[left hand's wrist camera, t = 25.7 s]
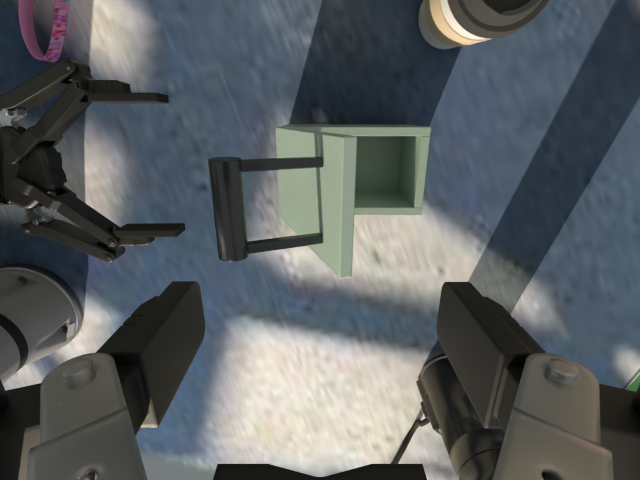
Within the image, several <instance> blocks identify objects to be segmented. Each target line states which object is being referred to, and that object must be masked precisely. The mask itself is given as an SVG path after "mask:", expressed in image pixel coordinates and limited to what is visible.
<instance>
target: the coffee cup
mask: <svg viewBox="0 0 640 480" xmlns="http://www.w3.org/2000/svg"><path fill="white" fill-rule="evenodd" d="M548 1H549V0H423V2H422V4H421V7H420V10H419V16H418V22H419V28H420V32H421V34H422V36H423V38H424V39H425V40H426V41H427V42H428V43H429V44H430V45H431V46H433V47H435V48H438V49H451V48H454V47H461V46H466V45H470V44H474V43H478V42H482V41H486V40H490V39H493V38H500V37H504V36H507V35H510V34H512V33H514V32H516V31H518V30H519V29H521V28H522V27H524V26H525V25H527V24H528V23H530V22H531V21H532V20H533V19H534V18H536V17H537V16H538V15H539V13H540V12H541V11H542V10H543V9H544V7H545V6H546V4H547V3H548Z"/></svg>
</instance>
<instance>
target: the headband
mask: <svg viewBox="0 0 640 480" xmlns="http://www.w3.org/2000/svg"><path fill="white" fill-rule="evenodd" d="M34 2H35V0H19V1H18V11H19V23H20V29H21V33H22V37H23V40H24V42H25V45H26V47H27V49H28V50H29V52H30V53H31V55H32V56H33V57H34V58H36V59H38V60H42V61H47V62H56V61H57V60H58V58H59V57H60V54H61V52H62V48H63V44H64V38H65V32H66V25H67V16H68V6H69V0H55V10H54V19H53V27H52V34H51V40H50V44H49V48H48V51H47V53H46V55H45V56H44V55H43V53H42V51H41V49H40V47H39V45H38V42H37V39H36V35H35V29H34V20H33V11H34Z"/></svg>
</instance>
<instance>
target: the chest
mask: <svg viewBox="0 0 640 480" xmlns="http://www.w3.org/2000/svg"><path fill="white" fill-rule="evenodd" d="M282 127H289V128H296V129H304V130H312V131H320V132H328V133H335V134H343V135H351V136H357V152H356V178H355V204H354V215H421V213H422V204H423V195H424V186H425V177H426V168H427V159H428V150H429V141H430V133H431V127H426V126H418V125H409V124H288V125H285V126H282Z"/></svg>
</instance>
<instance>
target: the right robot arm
mask: <svg viewBox="0 0 640 480" xmlns="http://www.w3.org/2000/svg"><path fill="white" fill-rule="evenodd" d="M90 72H91V70H90V67H89V66H88V65H87V64H86V63H83V62H79V61H76V60H72V59H69V58H65V59H62V60H61V61H59V62H58V63H56V64H54V65H53V66H51V67H49V68H48V69H46V70H45V71H43V72H41V73H40V74H38V75H37V76H35V77H33V78H32V79H30V80H28V81H27V82H25V83H24V84H22V85H20V86H19V87H17V88H15V89H14V90H12V91H11V92H9V93H7V94H6V95H0V123H1V126H2V127H0V205H17V206H20V207H22V208H24V209H25V214H26V220H27V223H24V224H22V225H21V231H22V232H23V233H25V234H30V235H40V236H45V237H48V238H50V239H52V240H55V241H57V242H60V243H62V244H65V245H67V246H70V247H72V248H74V249H77V250H79V251H82V252H84V253H87V254H89V255H92V256H94V257H97V258H99V259H101V260H104V261H106V262H112V261H113V260H115V259H117V258H118V257H119V256H121V255H122V254H124V253H125V248H124V245H147V244H149V243H151V242H152V241H153V240H155V238H154V237H177V236H178V235H179V234H181V233H182V232H183V231H184V230H185V223H167V224H126V225H124V226H122V227H119V226H117V225H116V224H114V223H113V222H111V221H110V220H109V219H107V218H106V217H104V216H103V215H101V214H100V213H98V212H97V211H95V210H94V209H93V208H91V207H90V206H88V205H87V204H85V203H84V202H82V201H81V200H80V199H78V198H77V197H76V196H77V195H76V194H75V193H74V192H72V191H71V190H69V189H68V188H66V187H65V186H64V184H65V182H67V179H66V175H65V173H64V171H63V169H62V158H61V154H60V152H57V151H56V149H55V148H54V147H55V146H56V145H57V144H58V142H59V141H60V140H61V139H62V138H63V136H62V135H63V134H64V132H65V131H66V130H67V129H68V128H69V127H70V126H71V125H72V124H73V123H74V122H75V120H76V119H77V118H78V117H79V116H80V115H81V114H82V113H83V112H84V111H85V109H86V108H87V107H88V106H89V105H90V104H91V103H92V102H99V103H169V101H168V95H164V94H159V93H131V90H130V84H128V83H125V82H122V81H117V80H94V79H93V77H92V76H91V74H90ZM65 89H66V91H65V92H64V93H63V94H62V95H61V96H60V97H59V99H58V100H57V101H56V102H55V103H54V104H53V105H52V106H51V108H50V109H49V110H48V111H47V112H46V113H45V114H44V115H43V117H42V118H41V119H40V120H39V121H38V122H37V123H36V124H35V125H34V126H32V127H30V128H28V129H27V130H26V129H25V128H23V127H21V126H19V124H18V122H19V120H20V119H21V118H23V117H24V116H25V115H27V111H26V110H29V109H32V108H35V107H37V106H39V105H40V104H42V103H44V102H45V101H47V100H49V99H50V98H52V97H54V96H55V95H57V94H58V93H60V92H62V91H63V90H65ZM55 195H57V196H55ZM41 206H45V207H46V208H48V209H50V210H55V211H57V212H59V213H60V214H62V215H63V216H65V217H66V218H68V219H69V220H71V221H72V222H74V223H75V224H77V225H78V226H80V227H81V228H83V229H81V228H79V227H76V226H74V225H72V224H69V223H67V222H64V221H61V220H57V219H54V216H53V215H49V214H46V213H44V212H43V211H42V210H41ZM82 319H83V317H82V310H81V306H80V303H79V301H78V299H77V297H76V296H75V294H74V293H73V292H72V290H71V289H70V288H69V287H68V286H67V285H66V284H65V283H64V282H63V281H62V280H60V279H59V278H58V277H56V276H55V275H53V274H51V273H49V272H47V271H45V270H43V269H40V268H37V267H34V266H29V265H8V266H4V267H2V268H0V379H1V382H2V384H3V383H4V382H5V381H6V380H8V379H9V378H10V377H11V376H12V375H13V374H15V373H16V372H17V371H18V370H19V369H20V368H22V367H23V366H24V365H27V364H29V363H31V362H33V361H36V360H38V359H40V358H42V357H45V356H47V355H49V354H51V353H53V352H56V351H58V350H59V349H61V348H63V347H64V346H66V345H67V344H68V343H69V342H70V341H71V340H72V339H73V338H75V336H76V335H77V334H78V332H79V331H80V329H81V326H82Z"/></svg>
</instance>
